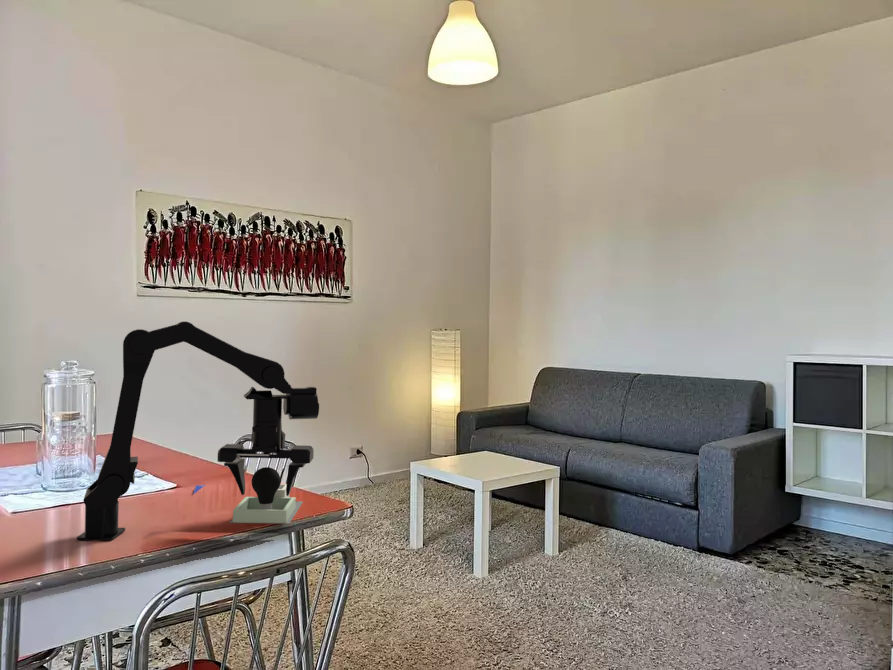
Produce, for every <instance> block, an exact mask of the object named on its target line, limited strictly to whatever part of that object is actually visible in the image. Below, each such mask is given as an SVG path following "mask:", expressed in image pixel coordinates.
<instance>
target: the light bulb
mask: <svg viewBox="0 0 893 670" xmlns="http://www.w3.org/2000/svg"><path fill="white" fill-rule="evenodd" d="M280 483H281V484H282V481H281V475H280V474H279V471H277V470H276V469H275V468H273V467H270V466H269V467H267V466H266V467H265V466H264V467H261V468H259V469H257V471H255V472H254V473H253V475H252V478H251V487H252V489H253V491H254V492H255V494H256V497H258V500H259V503H260V509H272V503H273V500H274V495H275V493H276V491H277V490H278V488H279V486H280Z"/></svg>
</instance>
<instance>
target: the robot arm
mask: <svg viewBox="0 0 893 670" xmlns="http://www.w3.org/2000/svg"><path fill="white" fill-rule="evenodd" d="M180 343H187V344H189V345H191V346H192V347H195V348H197V349H198V350H200V351H202V352H204V353H207V354H209V355H210V356H213V357H215V358H217V359H218V360H221V361H223V362H224V363H227V364H228V365H231V366H233V367H235V368H236V369H237V370H239V371H240V372H242V374H244V375H245V376H246V377H248V378H249V379H251V380H252V381H253V382H255V384H257V385H259V386H261V387H262V388H264V389H267V390H257V389H256V388H255V387H254V386H251V387H250V388H249V390H248V391H246V393H245V394H243V398H245V399H246V400H253V410H252V413H253V414H252V416H253V417H252V429H251V440H250V441H251V443H252V446H251V448H245V447H244V444H241V443H236V444H235V443H226V444H224V445H223V446H222V447H221V448H218V451H217V462H219V463H223V467H228V469H229V470H230V471H231V473H232V476H233V478H234V479H235V482H236V485H237V487H238V489H239V492H240V494H241V496H244V495H245V494H246V476H245V461H246V459H247V458H248V459H249V458H250V459H251V458H252V459H290V461H291V462H290V463H289V464H288V469H287V477H286V478H287V479H286V484H287V486H286V495H287V496H289V497H290V494H291V490H292V488H293V484H294V482H295V479H296V477H297V474H298V472H299V470H300V468H304V467H305V466H306V464H311V462H312V461H313V460H314V447H312V445H297V444H296V445H294V446H293V447H291V449H287V448H286V449H285V445H286V444H285V443H286V433H285V432H284V431H283V430H282V428H283V427H282V424H283V423H282V412H283V414H284V416H287V415H288V420H314V419H315V420H316V419H318V417H319V413H320V403H319V397H318V394H317V390H318V389H317V387H315V386H306V387H292V386H291V384H290V383H289V382H288V381H287V379H286V378H285V370H284V366H283V365H282V364H280V363H279V362H277V361H274V360H272V359H268V358H265V357H263V356H259V355H256V354H253V353H249V352H247V351H244V350H242V349H241V348H238V347H236V346H234V345H232V344H230V343H228V342H227V341H224V340H222V339H220V338H218V337H216V336H215V335H213V334H210V333H209V332H206V331H205V330H202V329H201V328H199V327H197V326H195V325H194V324H193V323H192V322H189V321H180V322H178V323H175V324H172V325H169V326H166V327H162V328H158V329H157V328H156V329H154V330H153V329H152V330H150V331H148V330H145V329H143V328H136V329H134V330H131V331H130V332H128V333H127V334H126V336H125V337H124V339H123V341H122V367H123V369H122V370H123V375H122V376H123V377H122V383H121V388H120V392H119V393H120V394H119V397H118V403H117V408H116V413H115V419H114V424H113V429H112V435H111V439H110V440H111V441H110V445H109V448H108V451H107V453H106V456H104V457H105V458H104V460H103V461H102V462H103V463H102V465H101V468H100V471H99V473H98V477H97V479H96V480H95V481H94V482H93V483H92V484H91V485H90V486H88V488H86V491H85V495H84V498H83V503H84V532H83V533H81V534H79V535H78V536H76V540H78V541H88V540H89V541H112V540H114V539H115V538H116V537H118V536H120V535H121V534H122V533H124V532H125V531H126V527H119V510H120V509H119V506H120V505H119V504H120V503H119V502H120V501H119V498H120V497H122V496H124V495H125V494H126V493H127V492H128V491H129V488H130V486H131V485H135V479H136V476H135V471H136V470H137V466H138V464H139V463H138V461H139V456H132V455H131V451H132V449H131V447H132V442H133V436H134V431H135V426H136V419H137V416H138V415H137V414H138V410H139V409H138V408H139V405H140V404H139V403H140V399H141V394H142V388H143V383H144V379H145V377H146V373H147V370H148V369H149V366H150V364H151V361H152V358H153V356H154V354H155V351H158V350H161V349H164V348H168V347H171V346H174V345H177V344H180ZM268 389H269V390H268ZM270 389H275V390H277V392H280V393H281V394H273V392H272V390H270ZM282 410H283V411H282Z"/></svg>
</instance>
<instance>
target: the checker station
mask: <svg viewBox="0 0 893 670" xmlns="http://www.w3.org/2000/svg"><path fill="white" fill-rule="evenodd" d="M286 486H287V483H281V489H278V490H277V491H276V493H275V495H274V500H273V503H272V509H260V503H259V500H258V496H245V497H243V499H242V500H241V502H239V503H238V504H237V505H236V506H235V507H234V508H233V509H232V519H231V520H230V521H229V522H228V523H229V524H274V525H275V524H279V525H280V524H281V525H286V524H287V525H288V524H290V523H291V522H292V521H293V519H294V518H295V515H297V512H298V511H299V509H300V508H301V506H302V504H303V503H304V501H296V499H297V497H296V496H295V497H293V496H292V497H291V496H290V495H289V496H287V495H286Z"/></svg>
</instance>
